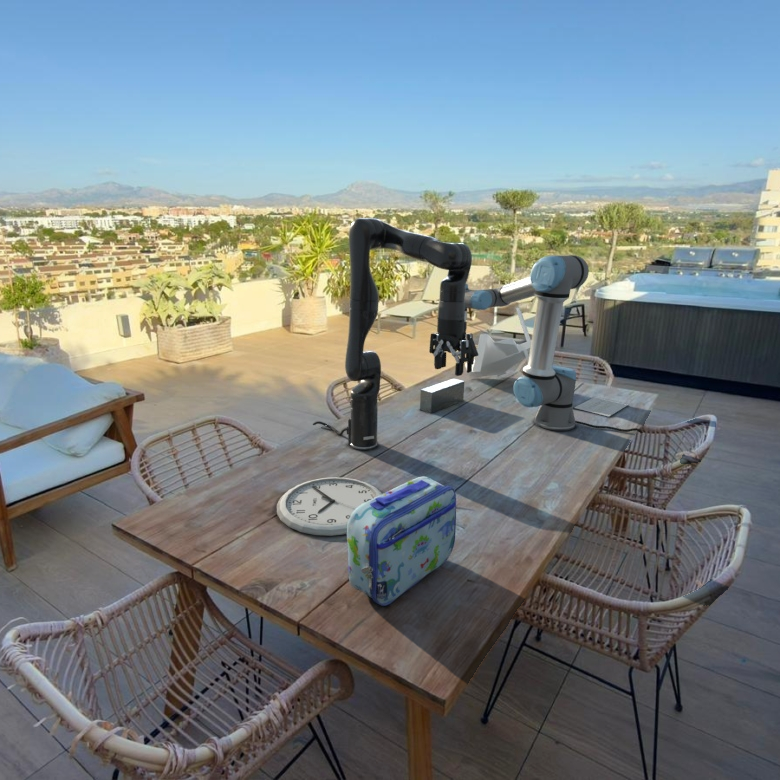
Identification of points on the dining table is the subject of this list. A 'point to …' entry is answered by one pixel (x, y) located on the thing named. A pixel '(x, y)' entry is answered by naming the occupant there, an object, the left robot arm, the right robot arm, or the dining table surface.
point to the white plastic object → (499, 353)
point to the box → (441, 395)
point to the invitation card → (601, 406)
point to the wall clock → (324, 504)
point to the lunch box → (400, 538)
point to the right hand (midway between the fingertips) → (456, 369)
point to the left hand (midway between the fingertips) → (448, 372)
